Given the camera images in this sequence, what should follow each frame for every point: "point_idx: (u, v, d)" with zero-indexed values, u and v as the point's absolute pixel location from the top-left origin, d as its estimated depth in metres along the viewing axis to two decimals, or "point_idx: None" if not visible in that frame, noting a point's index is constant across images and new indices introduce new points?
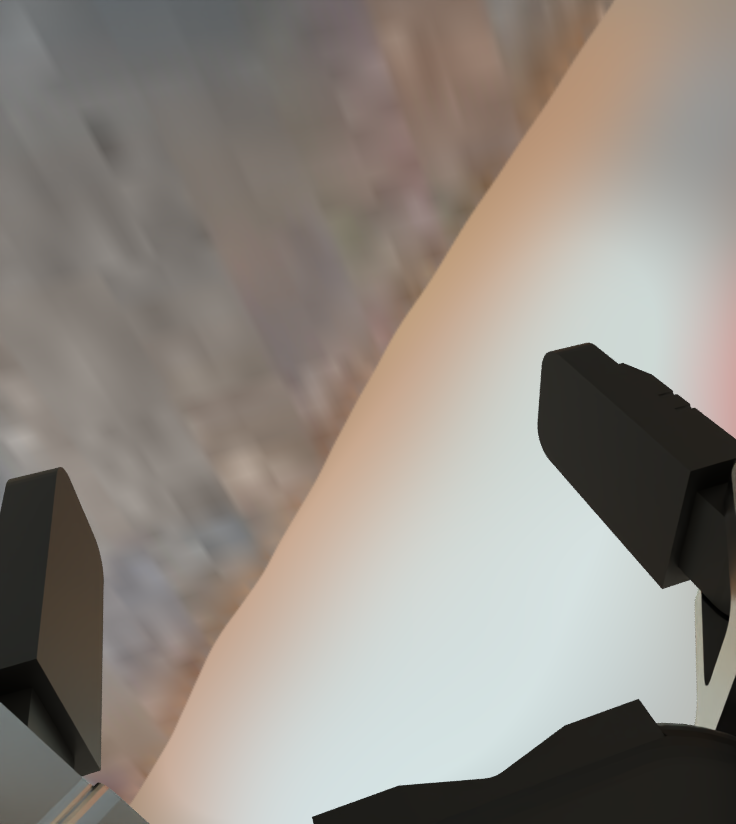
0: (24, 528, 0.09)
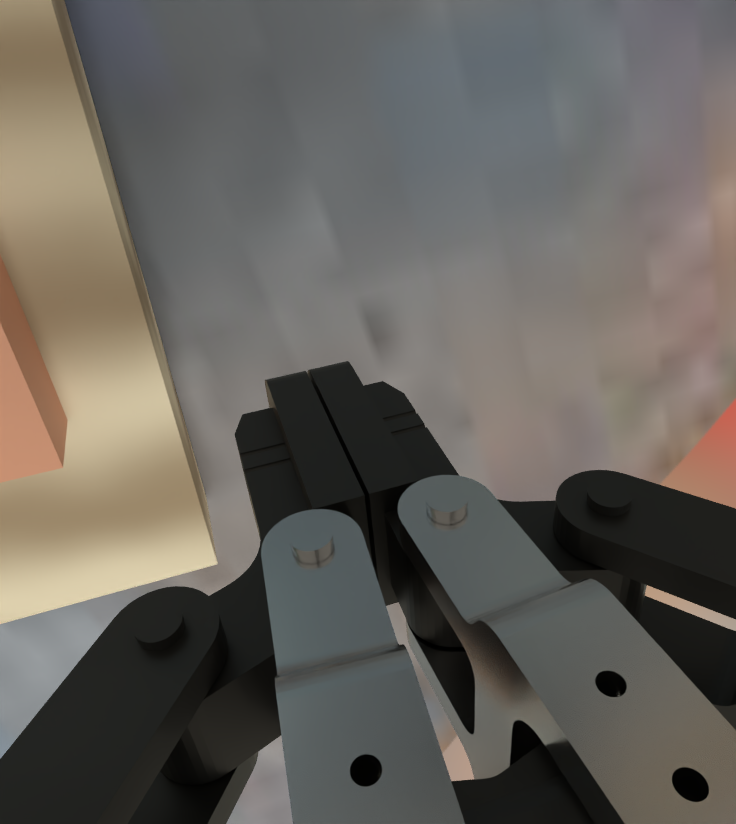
0: (302, 411, 0.10)
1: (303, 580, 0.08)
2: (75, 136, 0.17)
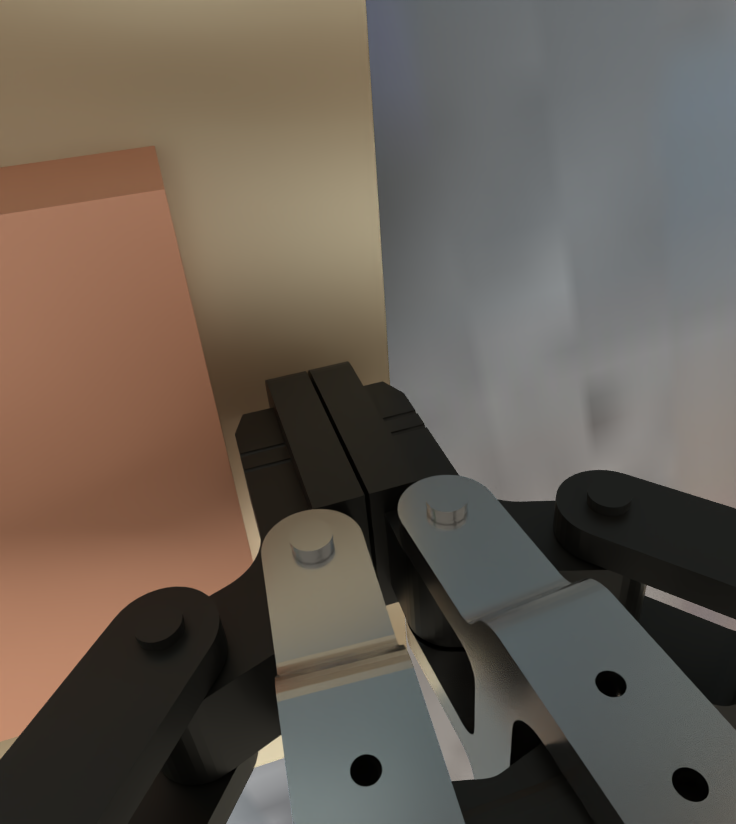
0: (302, 411, 0.10)
1: (303, 580, 0.08)
2: (357, 193, 0.11)
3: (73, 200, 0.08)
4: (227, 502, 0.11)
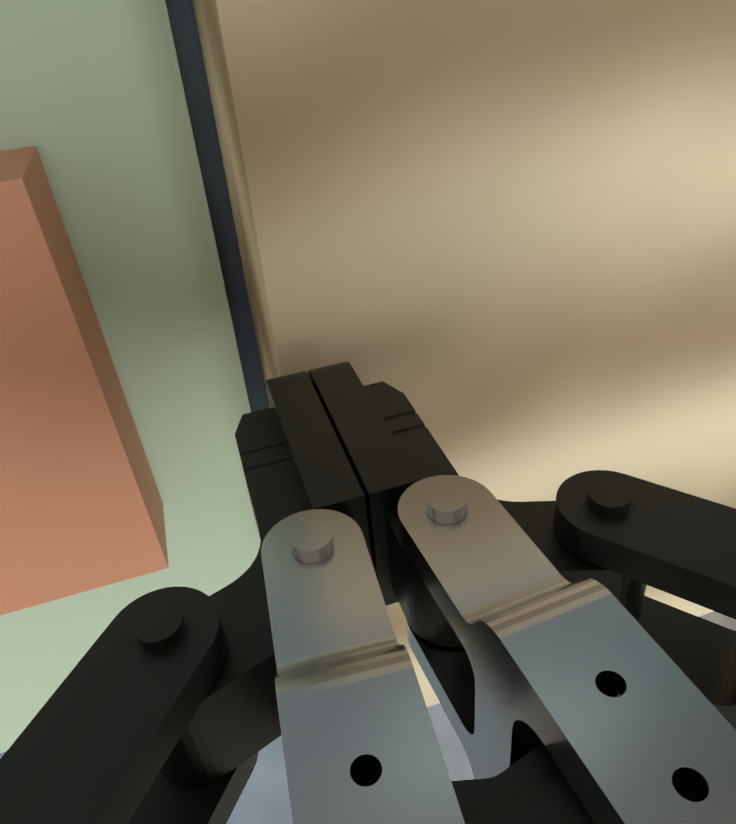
0: (302, 411, 0.10)
1: (303, 580, 0.08)
2: None
3: None
4: None
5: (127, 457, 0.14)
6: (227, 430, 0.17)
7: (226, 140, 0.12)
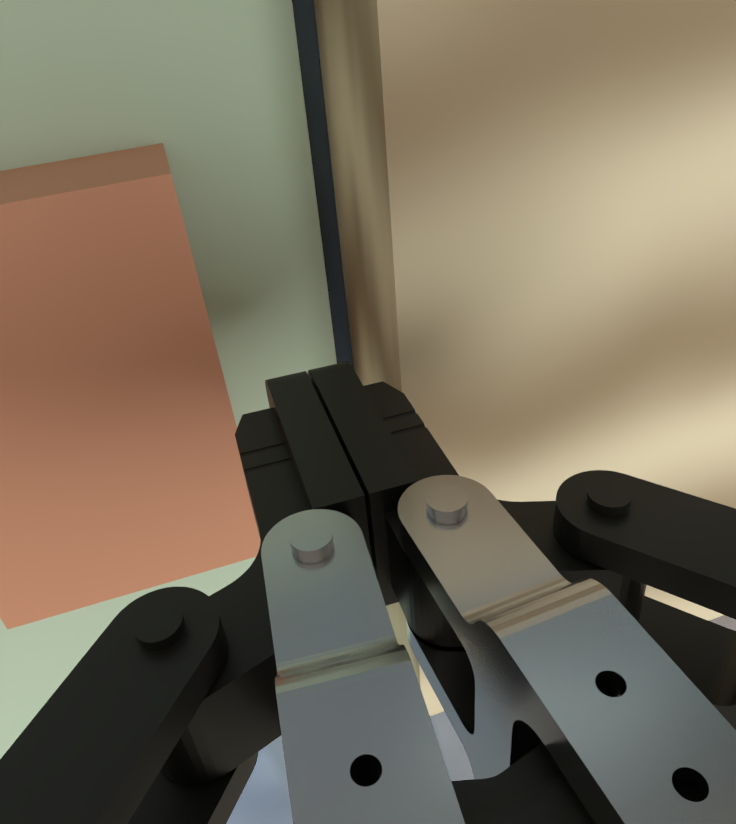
0: (302, 411, 0.10)
1: (303, 580, 0.08)
2: None
3: None
4: None
5: None
6: None
7: (349, 136, 0.13)
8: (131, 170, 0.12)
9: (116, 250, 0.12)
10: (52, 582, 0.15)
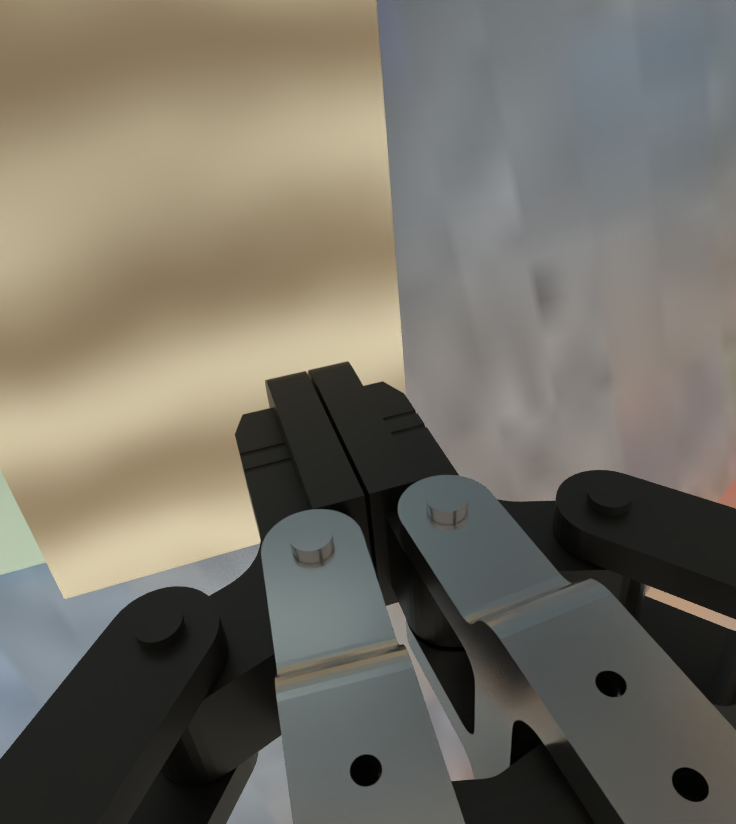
0: (301, 411, 0.10)
1: (303, 580, 0.08)
2: (372, 106, 0.20)
3: None
4: None
5: None
6: None
7: None
8: None
9: None
10: None
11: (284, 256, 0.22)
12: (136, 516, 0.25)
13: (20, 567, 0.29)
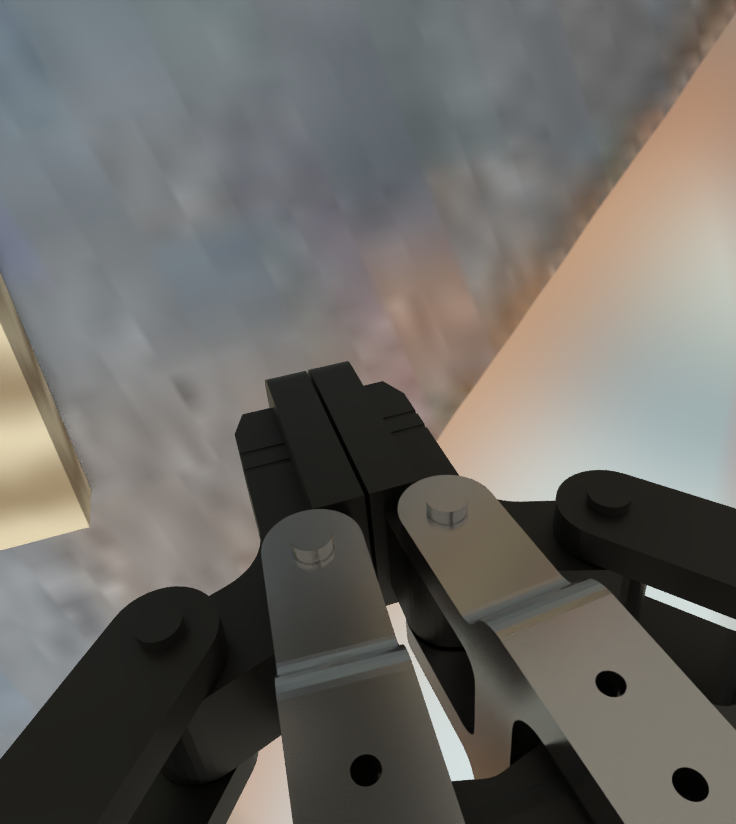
0: (302, 411, 0.10)
1: (303, 580, 0.08)
2: None
3: None
4: None
5: None
6: None
7: None
8: None
9: None
10: None
11: None
12: None
13: None
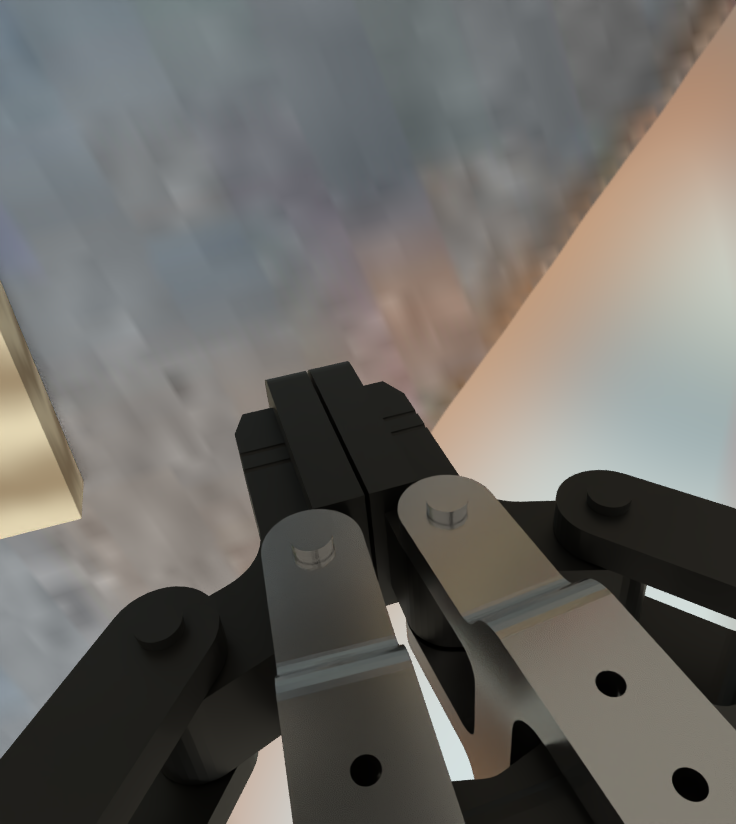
0: (302, 411, 0.10)
1: (303, 580, 0.08)
2: None
3: None
4: None
5: None
6: None
7: None
8: None
9: None
10: None
11: None
12: None
13: None
